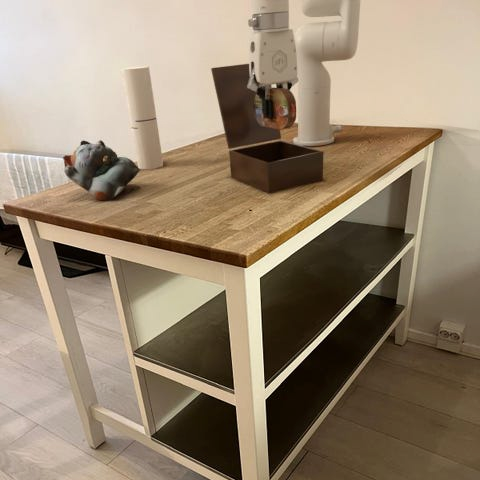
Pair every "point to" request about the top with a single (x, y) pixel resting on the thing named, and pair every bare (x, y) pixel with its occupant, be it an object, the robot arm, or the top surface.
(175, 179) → the top surface
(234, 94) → the lid
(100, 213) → the top surface
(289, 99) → the tin
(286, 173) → the chest
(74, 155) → the lucky cat figurine
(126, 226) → the top surface
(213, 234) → the top surface
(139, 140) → the cylindrical container
